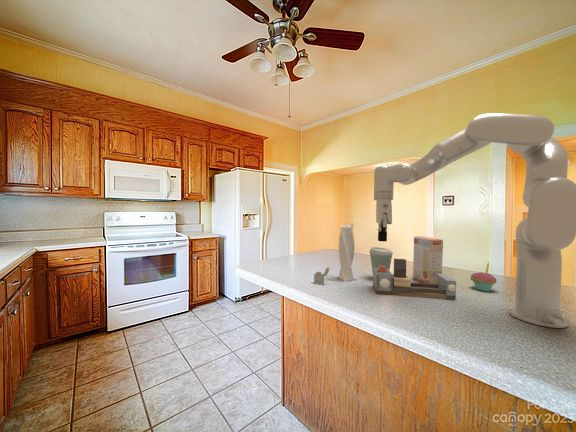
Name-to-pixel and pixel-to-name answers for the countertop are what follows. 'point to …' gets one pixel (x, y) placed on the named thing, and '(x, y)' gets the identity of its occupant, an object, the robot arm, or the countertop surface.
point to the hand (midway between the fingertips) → (382, 240)
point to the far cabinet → (383, 280)
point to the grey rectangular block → (446, 284)
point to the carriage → (400, 274)
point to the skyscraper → (346, 252)
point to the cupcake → (483, 280)
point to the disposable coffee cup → (380, 257)
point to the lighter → (320, 276)
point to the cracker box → (427, 259)
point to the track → (418, 291)
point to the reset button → (382, 268)
